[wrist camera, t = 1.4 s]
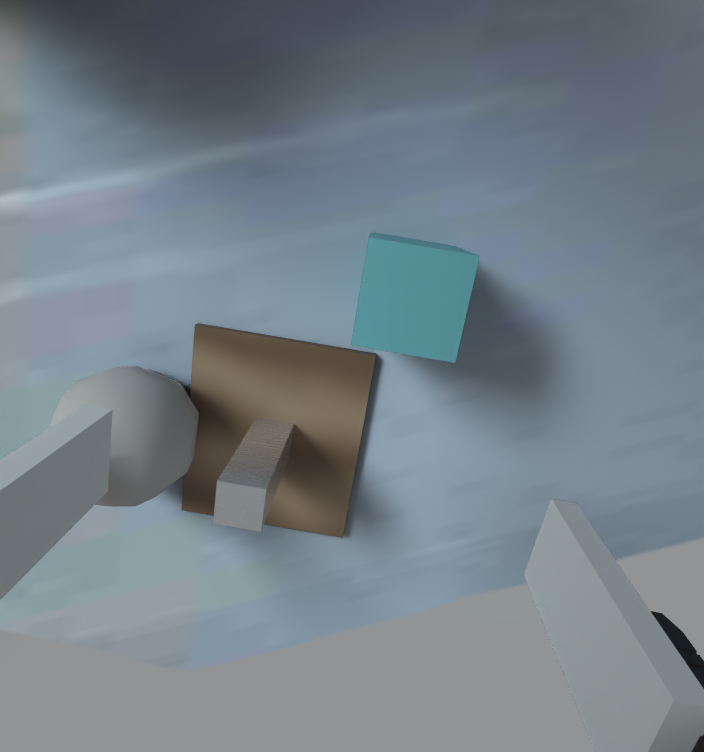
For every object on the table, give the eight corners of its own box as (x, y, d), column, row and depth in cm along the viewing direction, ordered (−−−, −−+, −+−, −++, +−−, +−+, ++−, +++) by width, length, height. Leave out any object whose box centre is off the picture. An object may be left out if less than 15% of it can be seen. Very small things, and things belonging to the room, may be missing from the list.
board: (198, 323, 34) (195, 325, 34) (375, 353, 34) (375, 355, 34) (184, 505, 38) (181, 510, 38) (343, 532, 38) (342, 537, 38)
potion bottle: (108, 337, 35) (-204, 443, 18) (228, 388, 35) (28, 545, 17) (84, 446, 38) (-208, 628, 21) (195, 494, 37) (-8, 719, 20)
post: (256, 417, 35) (217, 481, 27) (293, 423, 35) (266, 489, 27) (252, 451, 36) (213, 523, 28) (289, 457, 36) (260, 531, 28)
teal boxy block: (371, 232, 32) (368, 237, 24) (454, 246, 32) (479, 255, 24) (357, 314, 34) (350, 345, 25) (437, 327, 34) (455, 362, 25)
